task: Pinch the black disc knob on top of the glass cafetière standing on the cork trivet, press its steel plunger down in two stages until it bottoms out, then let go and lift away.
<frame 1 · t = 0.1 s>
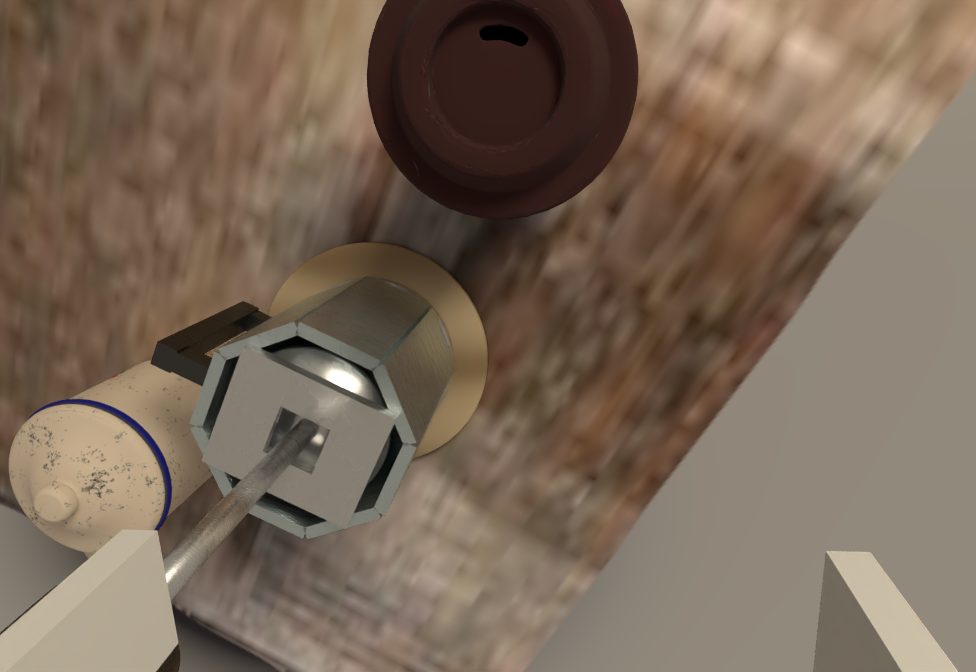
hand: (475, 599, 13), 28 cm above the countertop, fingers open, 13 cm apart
plunger: (215, 526, 23), point 20 cm above the countertop, slide at 0.0 cm
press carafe: (373, 357, 42), resting on cork trivet
coffee cup: (523, 104, 38), on the countertop
teacup with lid: (174, 436, 46), on the countertop
cork trivet: (376, 354, 42), on the countertop
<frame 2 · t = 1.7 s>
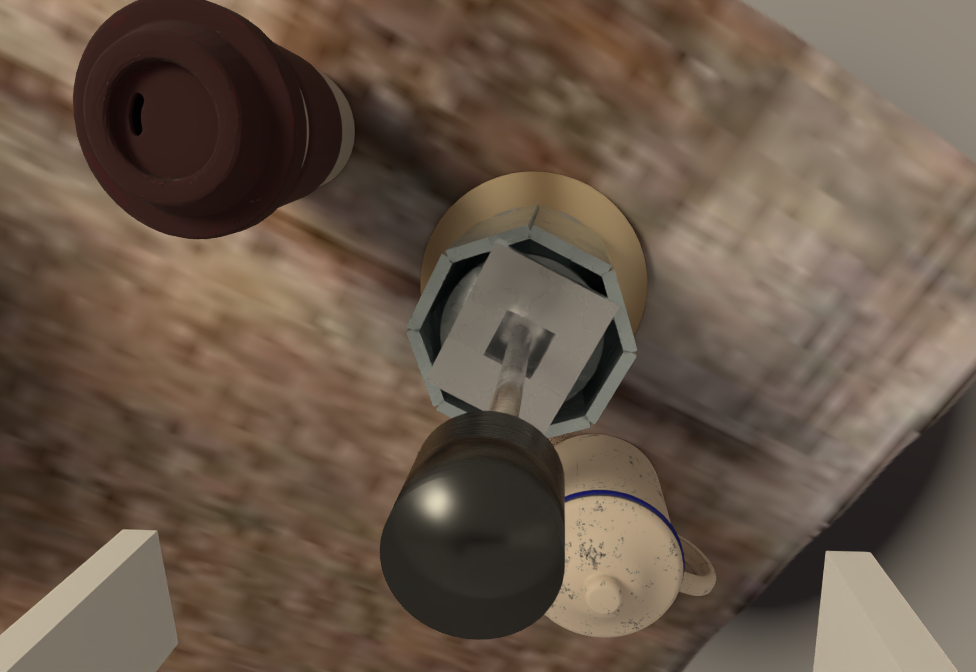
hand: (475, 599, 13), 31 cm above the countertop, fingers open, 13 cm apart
plunger: (506, 402, 24), point 20 cm above the countertop, slide at 0.0 cm
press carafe: (531, 288, 42), resting on cork trivet
coffee cup: (300, 128, 42), on the countertop
teacup with lid: (614, 496, 46), on the countertop
cork trivet: (532, 286, 43), on the countertop
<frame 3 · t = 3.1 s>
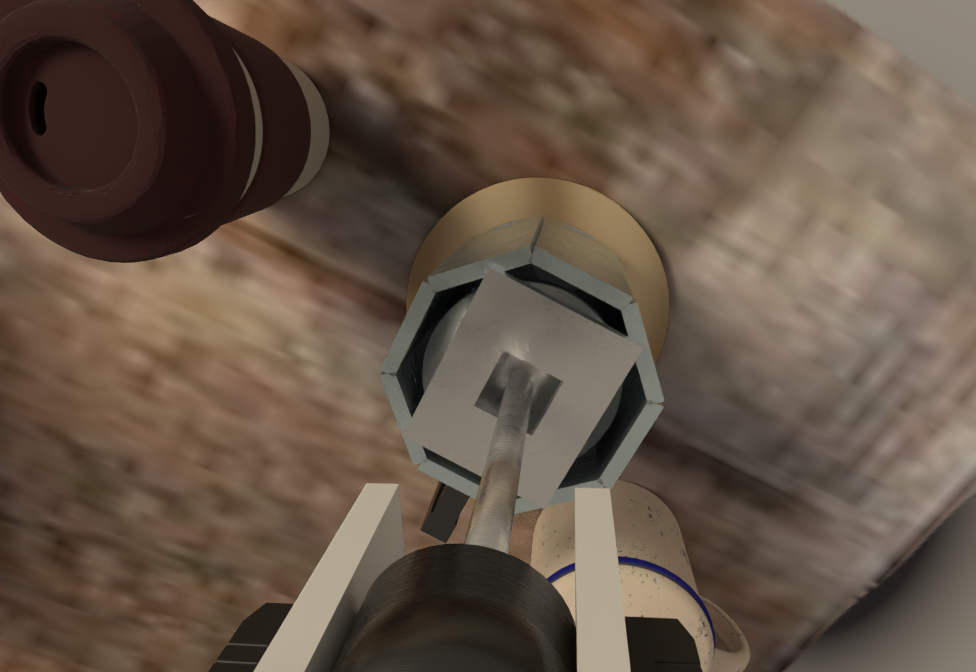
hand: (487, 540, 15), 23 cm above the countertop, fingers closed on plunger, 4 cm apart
plunger: (498, 489, 18), point 20 cm above the countertop, slide at 0.0 cm, touching gripper
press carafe: (535, 312, 36), resting on cork trivet
coffee cup: (267, 127, 36), on the countertop
teacup with lid: (628, 549, 40), on the countertop
cork trivet: (535, 309, 37), on the countertop
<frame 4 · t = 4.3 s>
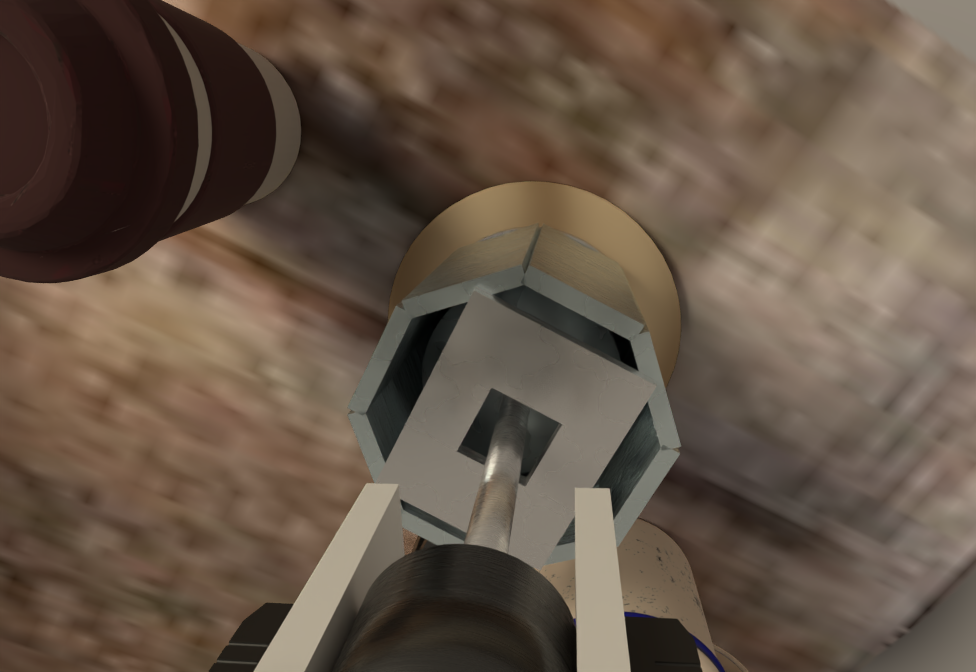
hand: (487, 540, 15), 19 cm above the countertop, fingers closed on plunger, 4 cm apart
plunger: (498, 488, 18), point 16 cm above the countertop, slide at 3.9 cm, touching gripper
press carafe: (530, 331, 33), resting on cork trivet
coffee cup: (233, 125, 33), on the countertop
teacup with lid: (634, 590, 37), on the countertop
cork trivet: (531, 328, 33), on the countertop
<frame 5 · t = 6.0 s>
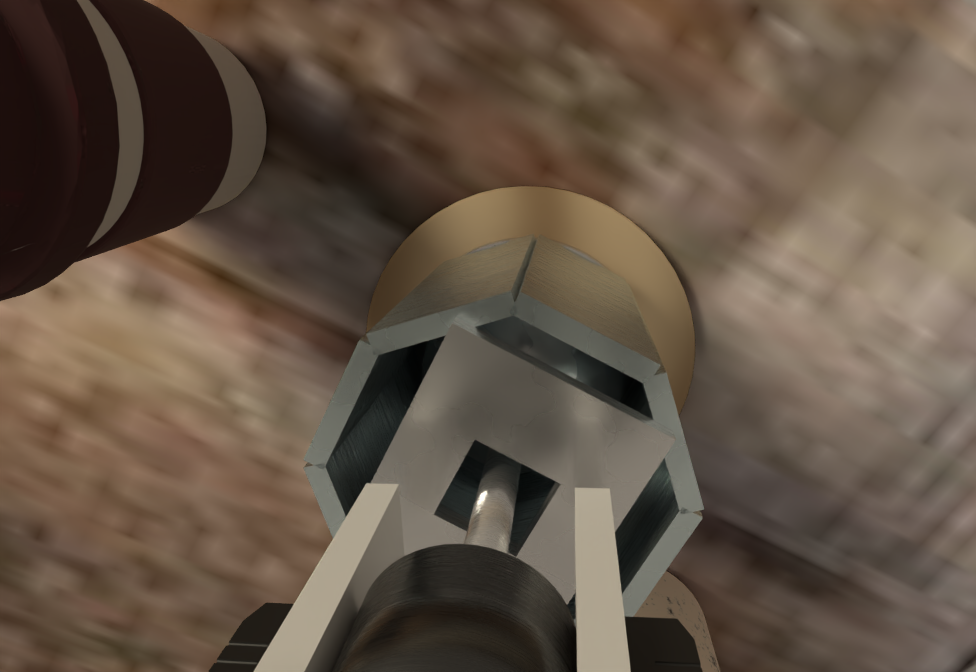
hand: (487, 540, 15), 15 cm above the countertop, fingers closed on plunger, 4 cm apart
plunger: (498, 488, 18), point 12 cm above the countertop, slide at 7.7 cm, touching gripper
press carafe: (525, 354, 29), resting on cork trivet
coffee cup: (190, 123, 29), on the countertop
teacup with lid: (641, 638, 33), on the countertop
cork trivet: (526, 350, 30), on the countertop
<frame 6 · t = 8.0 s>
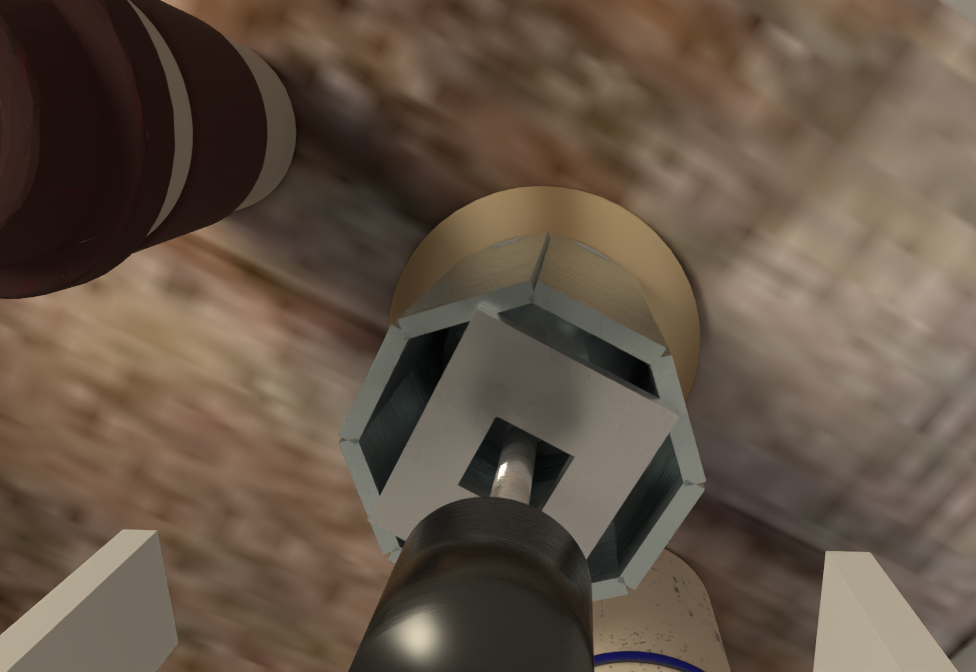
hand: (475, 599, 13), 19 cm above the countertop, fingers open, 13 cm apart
plunger: (517, 461, 19), point 12 cm above the countertop, slide at 7.7 cm
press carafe: (539, 345, 31), resting on cork trivet
coffee cup: (224, 126, 31), on the countertop
teacup with lid: (648, 618, 35), on the countertop
cork trivet: (540, 342, 31), on the countertop
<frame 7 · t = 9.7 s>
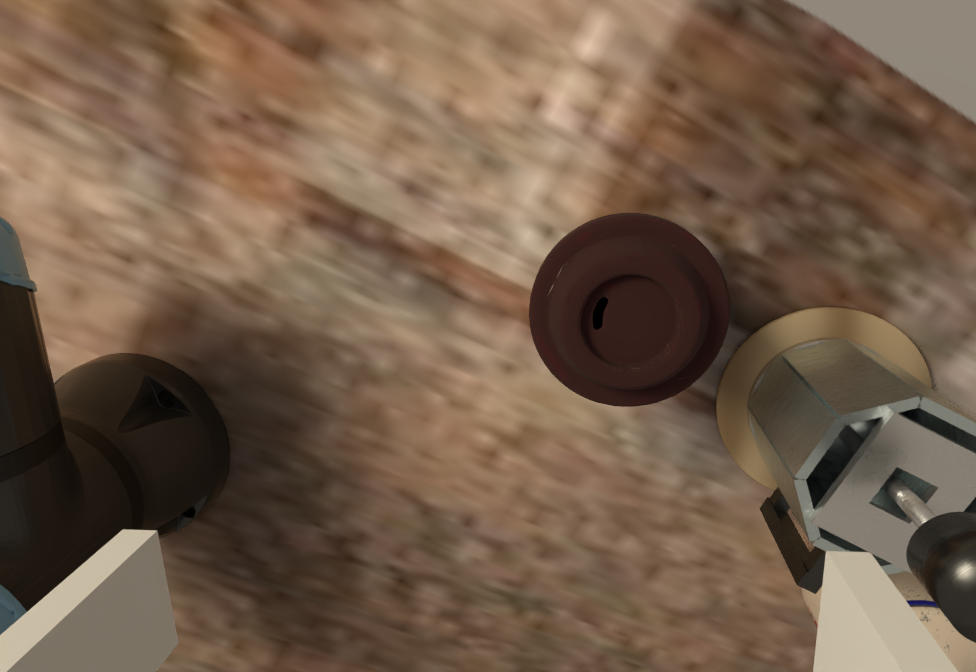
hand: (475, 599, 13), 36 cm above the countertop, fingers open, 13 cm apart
plunger: (898, 490, 36), point 12 cm above the countertop, slide at 7.7 cm
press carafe: (822, 407, 47), resting on cork trivet
coffee cup: (614, 268, 47), on the countertop
teacup with lid: (878, 586, 51), on the countertop
cork trivet: (819, 404, 48), on the countertop
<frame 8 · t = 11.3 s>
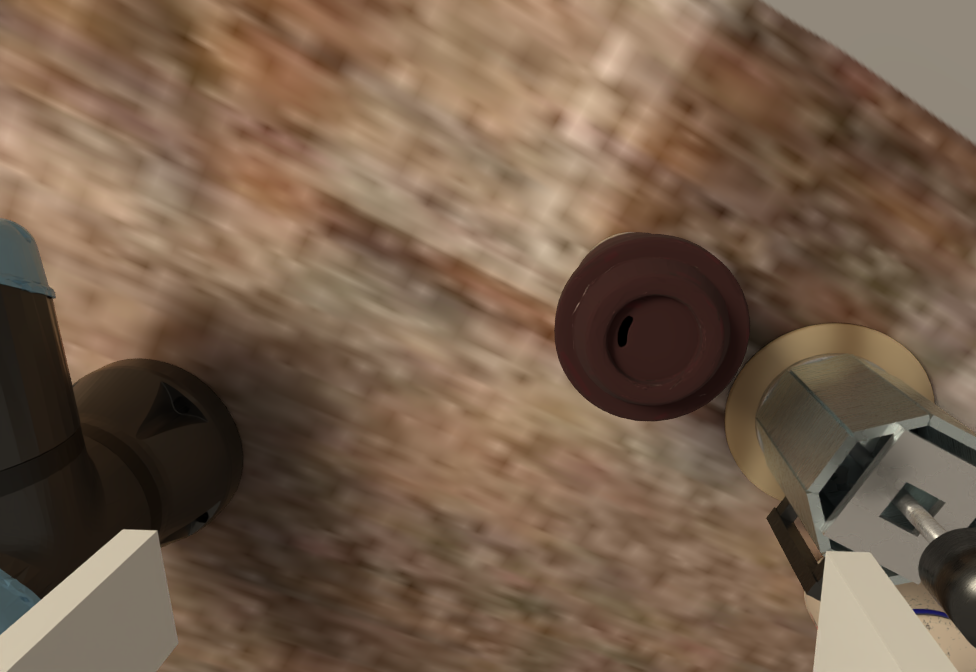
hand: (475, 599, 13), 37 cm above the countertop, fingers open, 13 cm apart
plunger: (906, 504, 37), point 12 cm above the countertop, slide at 7.7 cm
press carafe: (828, 420, 49), resting on cork trivet
coffee cup: (629, 282, 48), on the countertop
teacup with lid: (877, 594, 53), on the countertop
cork trivet: (825, 417, 49), on the countertop
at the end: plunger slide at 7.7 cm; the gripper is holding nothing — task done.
